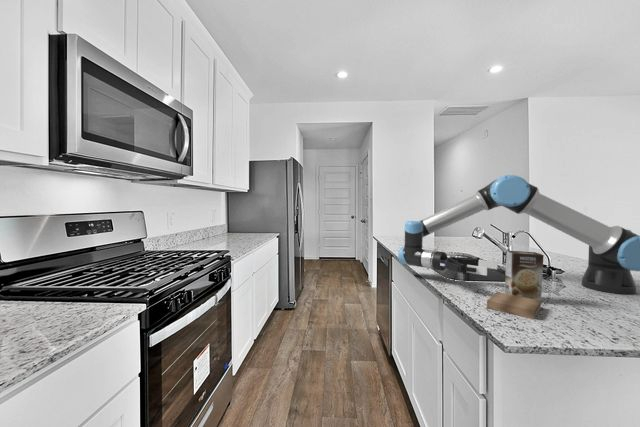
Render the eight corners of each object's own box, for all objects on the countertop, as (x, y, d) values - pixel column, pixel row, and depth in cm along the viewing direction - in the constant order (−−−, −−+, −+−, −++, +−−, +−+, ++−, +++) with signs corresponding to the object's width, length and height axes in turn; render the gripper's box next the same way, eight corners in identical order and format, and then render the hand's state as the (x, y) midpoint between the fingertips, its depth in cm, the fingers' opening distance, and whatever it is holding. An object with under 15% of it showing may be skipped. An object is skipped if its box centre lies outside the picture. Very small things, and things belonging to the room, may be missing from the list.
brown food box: (510, 300, 99) (512, 253, 98) (504, 294, 105) (505, 250, 104) (542, 303, 96) (544, 254, 95) (533, 297, 102) (535, 251, 102)
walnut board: (540, 308, 91) (541, 300, 91) (534, 319, 83) (534, 310, 83) (497, 299, 100) (497, 292, 100) (486, 308, 91) (487, 300, 91)
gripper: (446, 264, 130) (500, 273, 116) (421, 274, 113) (481, 285, 98) (446, 247, 130) (501, 254, 115) (421, 254, 112) (482, 263, 98)
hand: (492, 268), depth 107 cm, fingers open, 13 cm apart
